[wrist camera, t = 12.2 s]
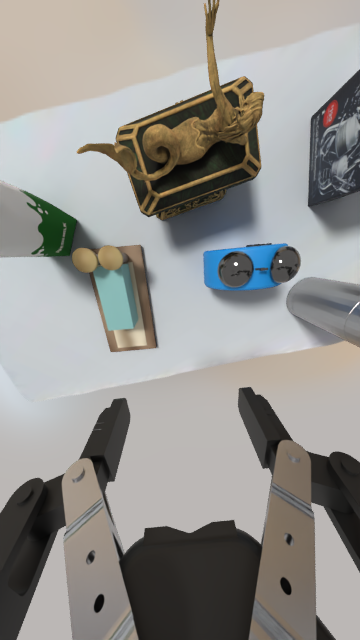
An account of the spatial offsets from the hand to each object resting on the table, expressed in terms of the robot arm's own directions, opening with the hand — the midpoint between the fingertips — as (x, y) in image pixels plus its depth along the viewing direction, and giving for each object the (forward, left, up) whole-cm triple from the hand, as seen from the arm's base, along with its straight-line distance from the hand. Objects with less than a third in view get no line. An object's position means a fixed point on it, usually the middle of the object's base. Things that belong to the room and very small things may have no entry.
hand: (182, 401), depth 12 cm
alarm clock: (-12, -7, -28) cm, 31 cm away
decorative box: (-2, -21, -28) cm, 35 cm away
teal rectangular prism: (+11, -3, -27) cm, 29 cm away
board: (+12, -1, -28) cm, 30 cm away
